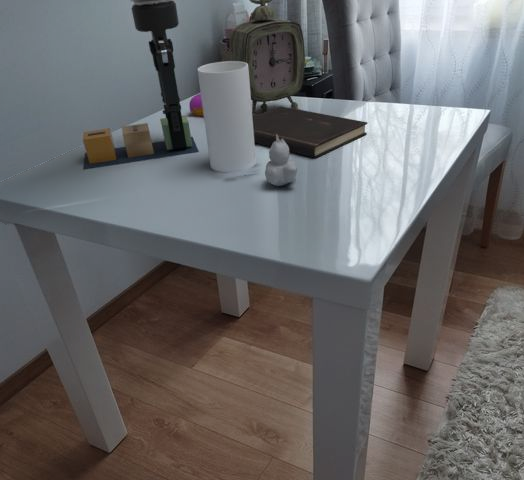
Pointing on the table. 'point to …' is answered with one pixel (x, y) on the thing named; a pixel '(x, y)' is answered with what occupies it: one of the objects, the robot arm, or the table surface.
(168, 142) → the pale green block
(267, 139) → the hardcover book
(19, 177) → the table surface
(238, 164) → the cup
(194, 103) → the purple rounded lump
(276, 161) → the rubber duck
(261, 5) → the tabletop clock
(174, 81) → the robot arm
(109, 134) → the amber wooden block
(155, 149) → the word mat
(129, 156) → the light wooden block
